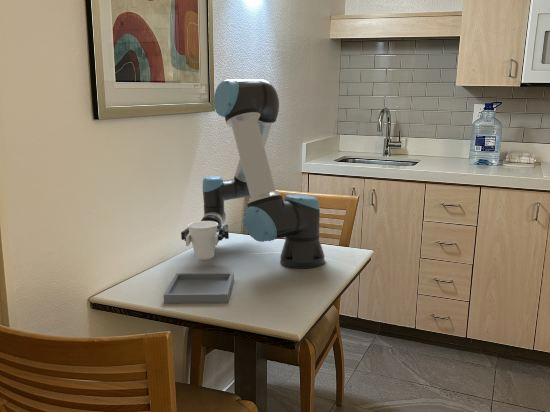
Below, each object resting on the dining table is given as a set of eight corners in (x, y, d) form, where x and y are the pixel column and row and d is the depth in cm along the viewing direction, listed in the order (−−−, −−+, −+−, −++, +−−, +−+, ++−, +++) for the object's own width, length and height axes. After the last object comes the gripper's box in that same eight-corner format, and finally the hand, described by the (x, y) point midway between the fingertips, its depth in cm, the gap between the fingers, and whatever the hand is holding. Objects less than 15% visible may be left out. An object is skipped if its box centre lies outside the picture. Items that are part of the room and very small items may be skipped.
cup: (214, 262, 172) (212, 228, 170) (184, 261, 174) (182, 227, 172) (223, 253, 182) (222, 221, 180) (195, 252, 184) (193, 220, 182)
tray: (233, 280, 171) (233, 272, 170) (227, 302, 153) (227, 294, 153) (176, 280, 171) (176, 273, 171) (164, 303, 154) (163, 294, 153)
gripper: (241, 234, 195) (235, 252, 173) (182, 235, 195) (168, 253, 173) (240, 213, 193) (234, 229, 171) (180, 215, 194) (167, 230, 172)
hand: (201, 241), depth 172 cm, fingers closed on cup, 8 cm apart
